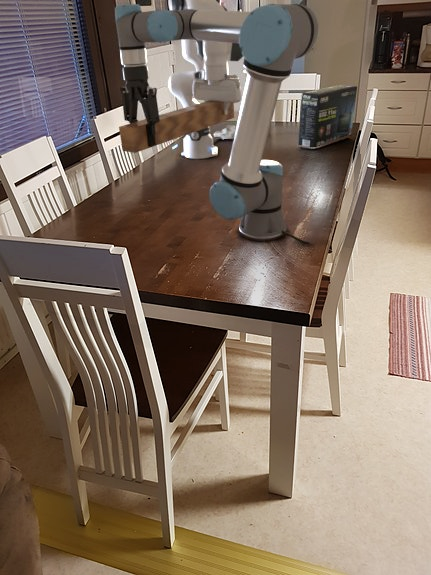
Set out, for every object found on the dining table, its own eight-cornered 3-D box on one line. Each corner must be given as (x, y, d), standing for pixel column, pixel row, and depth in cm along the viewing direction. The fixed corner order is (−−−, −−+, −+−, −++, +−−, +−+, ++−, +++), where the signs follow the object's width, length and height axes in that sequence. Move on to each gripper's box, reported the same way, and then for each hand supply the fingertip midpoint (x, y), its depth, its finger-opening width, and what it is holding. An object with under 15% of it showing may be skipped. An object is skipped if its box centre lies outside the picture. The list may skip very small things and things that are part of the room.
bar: (135, 152, 142) (131, 128, 138) (122, 151, 145) (118, 126, 141) (234, 117, 179) (233, 97, 175) (222, 116, 182) (221, 96, 178)
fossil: (236, 135, 249) (218, 118, 252) (226, 152, 256) (208, 135, 259) (252, 134, 263) (234, 118, 266) (242, 150, 269) (225, 134, 273)
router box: (314, 151, 231) (318, 94, 217) (296, 148, 237) (299, 92, 224) (352, 138, 251) (358, 85, 238) (335, 135, 258) (340, 83, 245)
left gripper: (244, 73, 164) (244, 114, 171) (199, 71, 175) (201, 109, 182) (234, 76, 160) (235, 117, 167) (189, 73, 170) (191, 112, 178)
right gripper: (166, 64, 134) (174, 144, 146) (121, 63, 144) (132, 139, 155) (149, 66, 129) (158, 150, 141) (104, 66, 139) (116, 144, 150)
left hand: (217, 113), depth 174 cm, fingers closed on bar, 5 cm apart
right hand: (144, 144), depth 148 cm, fingers closed on bar, 6 cm apart
